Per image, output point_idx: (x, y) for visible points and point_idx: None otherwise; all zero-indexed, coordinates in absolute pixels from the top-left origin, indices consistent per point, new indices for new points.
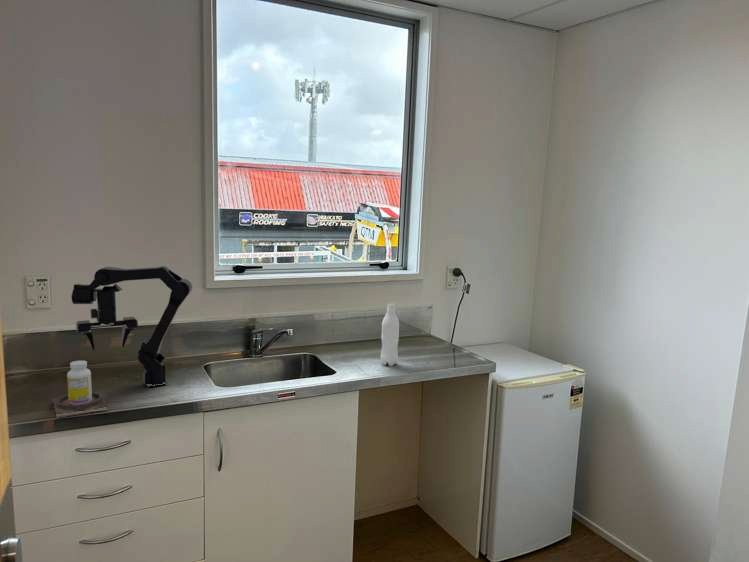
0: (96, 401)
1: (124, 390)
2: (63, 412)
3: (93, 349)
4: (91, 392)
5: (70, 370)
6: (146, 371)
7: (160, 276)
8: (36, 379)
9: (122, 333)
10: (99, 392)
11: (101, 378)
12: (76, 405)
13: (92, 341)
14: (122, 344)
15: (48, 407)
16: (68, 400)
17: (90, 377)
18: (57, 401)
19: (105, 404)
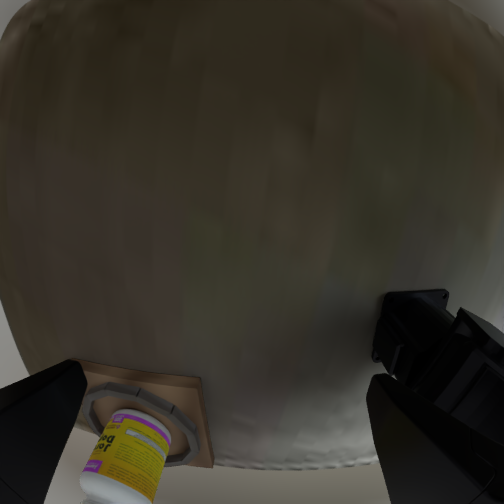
0: (184, 464)
1: (289, 352)
2: None
3: (79, 393)
4: (165, 460)
5: (84, 490)
6: (399, 381)
7: None
8: (21, 78)
9: (458, 495)
10: (190, 388)
11: (220, 127)
12: None
13: (47, 473)
14: (373, 434)
15: None
16: (107, 400)
17: (153, 499)
18: (87, 420)
19: (208, 461)
